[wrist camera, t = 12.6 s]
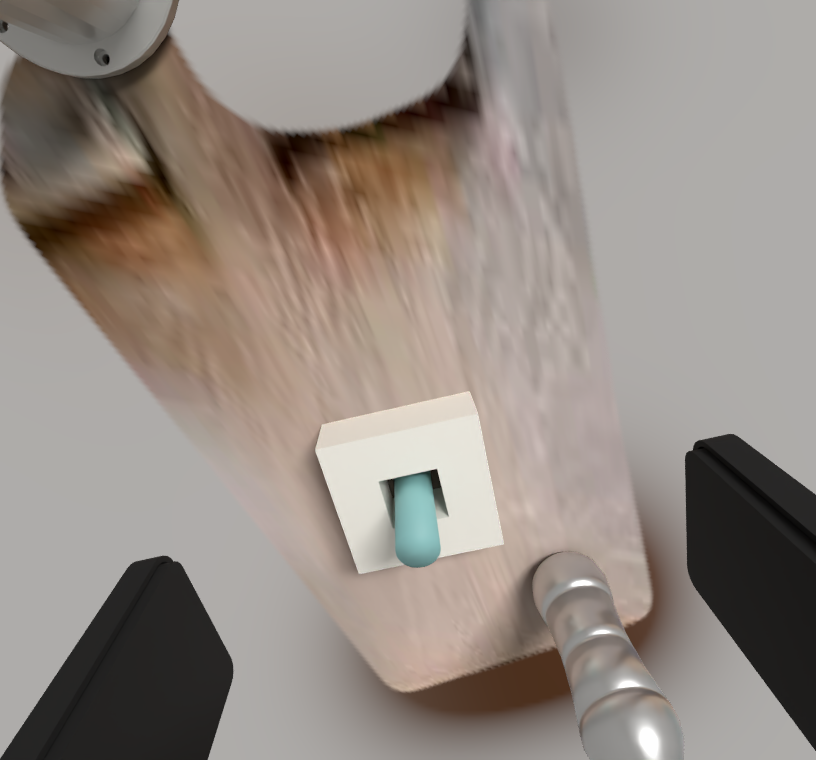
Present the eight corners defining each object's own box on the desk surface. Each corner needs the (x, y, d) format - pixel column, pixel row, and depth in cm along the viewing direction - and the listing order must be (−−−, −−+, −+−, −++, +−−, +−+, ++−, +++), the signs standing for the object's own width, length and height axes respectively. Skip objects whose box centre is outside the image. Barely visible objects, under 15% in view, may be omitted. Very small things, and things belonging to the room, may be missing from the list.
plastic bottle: (611, 560, 46) (759, 819, 27) (563, 606, 48) (672, 877, 29) (558, 530, 44) (678, 783, 26) (511, 579, 46) (591, 846, 28)
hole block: (322, 424, 40) (315, 449, 36) (469, 390, 39) (477, 413, 35) (361, 540, 44) (359, 574, 40) (494, 512, 43) (504, 544, 40)
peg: (390, 459, 41) (390, 536, 32) (425, 451, 41) (435, 527, 32) (398, 488, 42) (401, 571, 33) (433, 481, 42) (444, 562, 33)
